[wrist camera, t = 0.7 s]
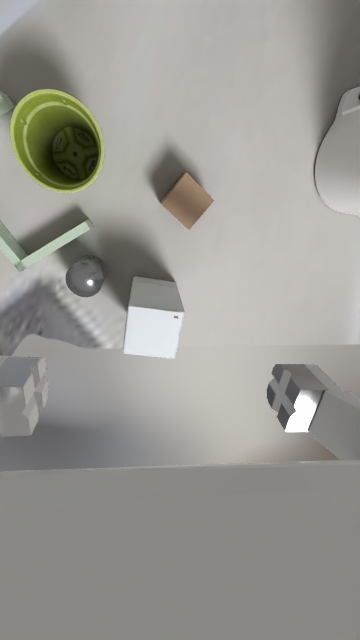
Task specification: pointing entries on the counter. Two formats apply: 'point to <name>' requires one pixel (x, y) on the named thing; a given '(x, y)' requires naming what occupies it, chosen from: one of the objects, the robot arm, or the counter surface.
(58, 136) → the plant pot
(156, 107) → the counter surface
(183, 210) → the walnut block
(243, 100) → the counter surface
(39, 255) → the corral
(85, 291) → the metal tin
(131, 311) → the supplement box
